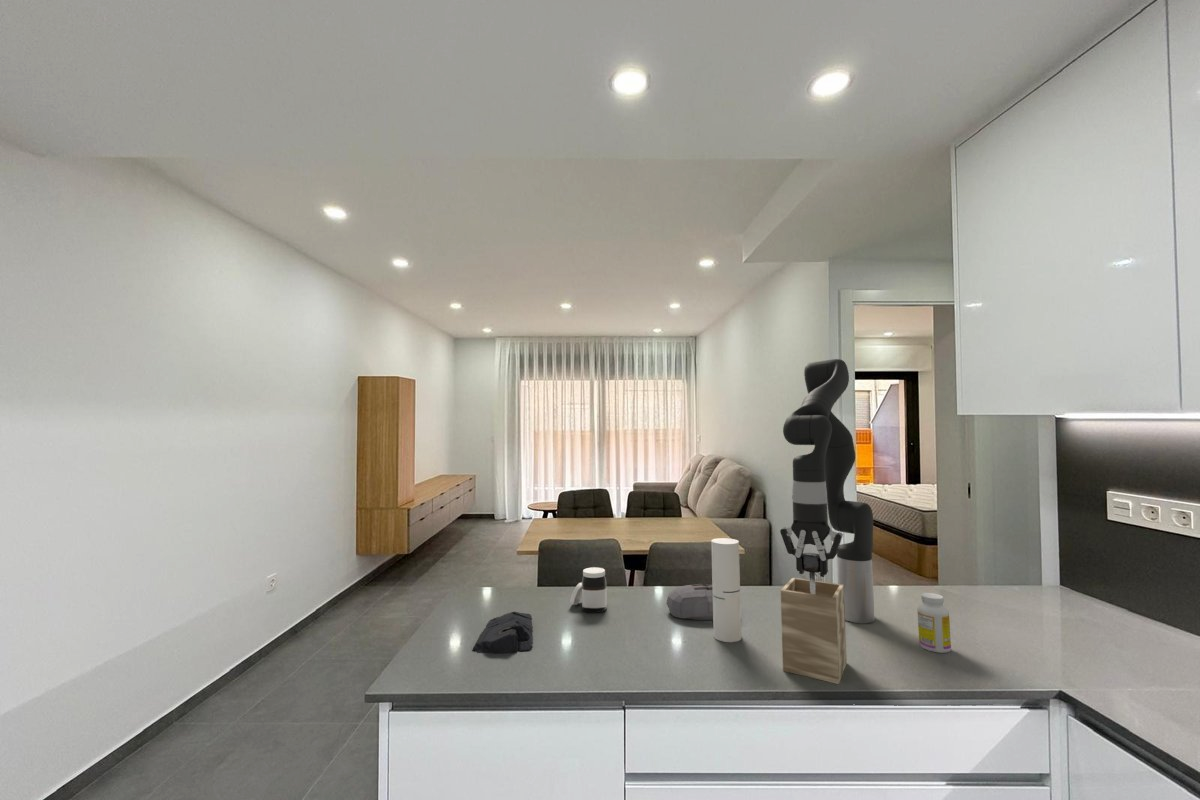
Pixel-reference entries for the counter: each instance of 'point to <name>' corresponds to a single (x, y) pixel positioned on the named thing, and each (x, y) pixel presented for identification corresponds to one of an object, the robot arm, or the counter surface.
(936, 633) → the supplement bottle
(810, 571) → the plunger
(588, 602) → the spread jar
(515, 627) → the dark slate chunk
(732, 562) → the cylindrical container
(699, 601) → the grey rounded bag
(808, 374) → the robot arm
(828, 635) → the wooden utensil holder
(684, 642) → the counter surface
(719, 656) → the counter surface
